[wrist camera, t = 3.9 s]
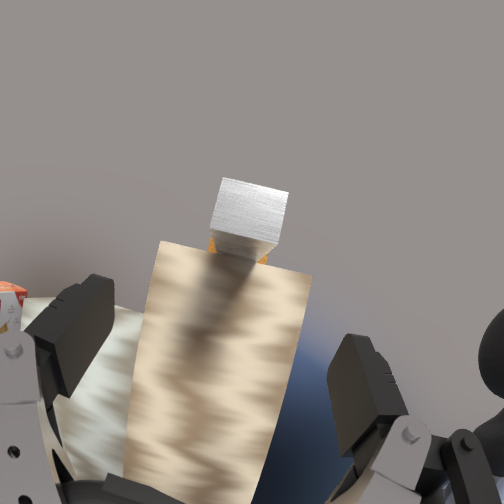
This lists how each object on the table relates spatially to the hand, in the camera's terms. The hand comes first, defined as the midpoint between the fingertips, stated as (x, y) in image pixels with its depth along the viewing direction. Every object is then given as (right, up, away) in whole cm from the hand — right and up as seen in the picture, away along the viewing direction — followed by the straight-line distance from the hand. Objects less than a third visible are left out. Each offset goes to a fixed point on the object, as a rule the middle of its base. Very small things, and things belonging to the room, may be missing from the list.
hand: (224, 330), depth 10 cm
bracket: (0, +2, +13) cm, 13 cm away
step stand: (-14, -28, +16) cm, 35 cm away
